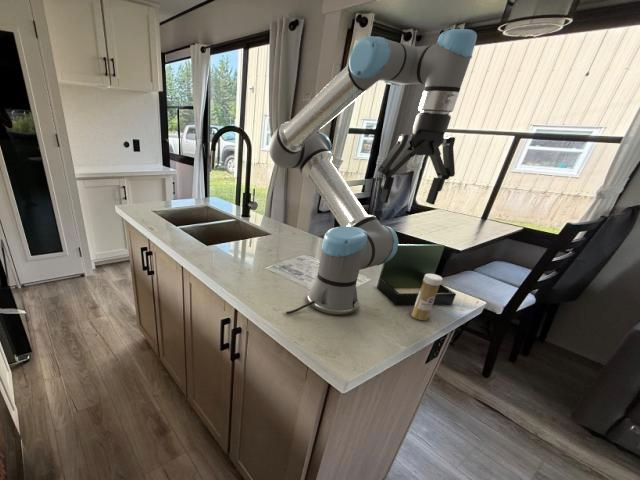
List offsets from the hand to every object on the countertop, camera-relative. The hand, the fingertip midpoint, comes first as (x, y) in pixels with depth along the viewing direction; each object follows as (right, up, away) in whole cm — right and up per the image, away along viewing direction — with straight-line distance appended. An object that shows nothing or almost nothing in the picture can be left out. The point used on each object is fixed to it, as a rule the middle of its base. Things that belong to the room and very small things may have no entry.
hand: (406, 202), depth 89 cm
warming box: (+13, -25, +21) cm, 35 cm away
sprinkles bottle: (+8, -32, +9) cm, 34 cm away
